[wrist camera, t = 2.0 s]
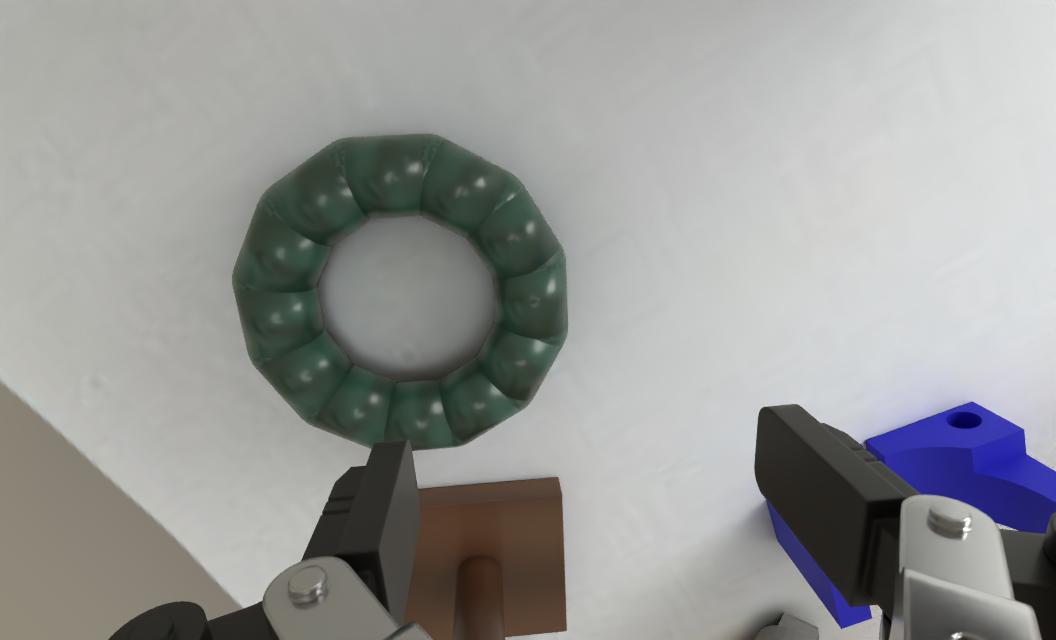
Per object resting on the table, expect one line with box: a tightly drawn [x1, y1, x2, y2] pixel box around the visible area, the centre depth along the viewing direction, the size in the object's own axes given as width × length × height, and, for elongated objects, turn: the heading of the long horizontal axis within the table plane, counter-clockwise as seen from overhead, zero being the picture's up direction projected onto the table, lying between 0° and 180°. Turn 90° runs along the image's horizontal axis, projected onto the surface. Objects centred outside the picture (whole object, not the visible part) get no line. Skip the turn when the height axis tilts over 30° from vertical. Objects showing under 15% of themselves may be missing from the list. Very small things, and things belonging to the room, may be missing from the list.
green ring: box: [232, 134, 568, 451], centre depth 24 cm, size 14×14×3 cm
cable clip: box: [766, 402, 1056, 629], centre depth 28 cm, size 12×4×6 cm, turn 111°
